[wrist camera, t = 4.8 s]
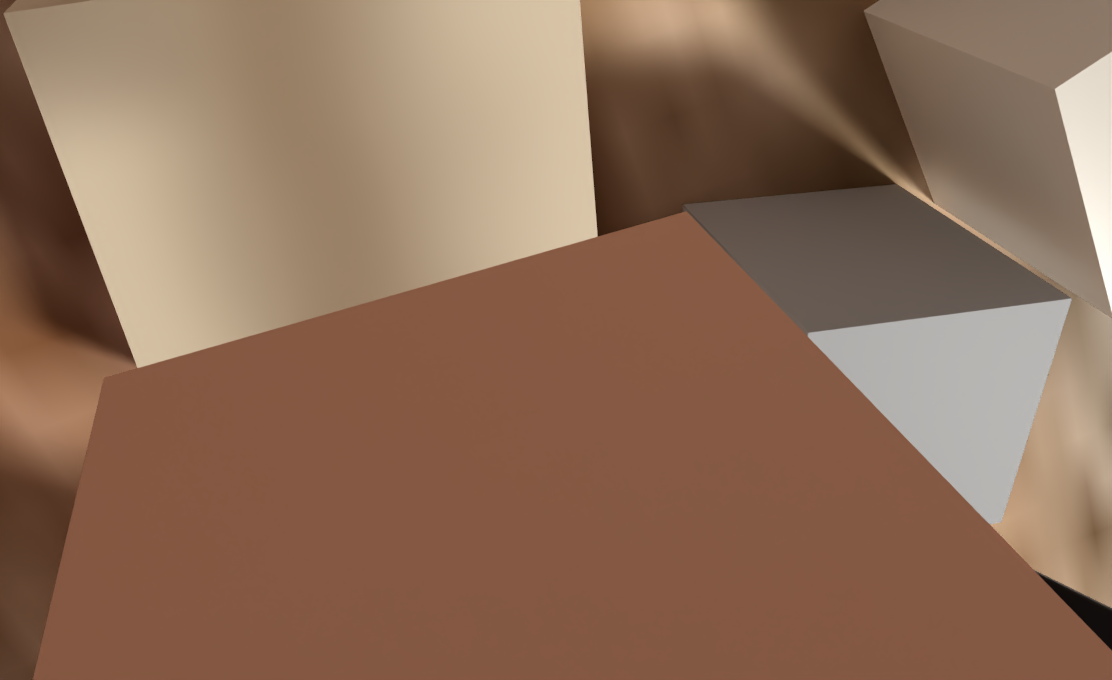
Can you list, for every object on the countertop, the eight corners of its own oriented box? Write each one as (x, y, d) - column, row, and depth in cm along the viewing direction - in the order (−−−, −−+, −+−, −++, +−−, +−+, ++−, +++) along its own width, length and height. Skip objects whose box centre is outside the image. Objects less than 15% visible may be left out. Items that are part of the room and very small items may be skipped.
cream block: (1082, -139, 17) (1351, -105, 13) (1126, 75, 20) (1363, 160, 15) (861, 10, 17) (1055, 88, 13) (932, 201, 20) (1112, 319, 16)
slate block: (895, 182, 19) (1071, 298, 15) (856, 375, 22) (1001, 522, 17) (681, 203, 18) (808, 332, 14) (664, 403, 21) (769, 565, 16)
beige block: (521, -97, 15) (574, -70, 13) (561, 294, 19) (608, 376, 16) (47, -31, 14) (3, 13, 12) (188, 373, 18) (177, 474, 15)
